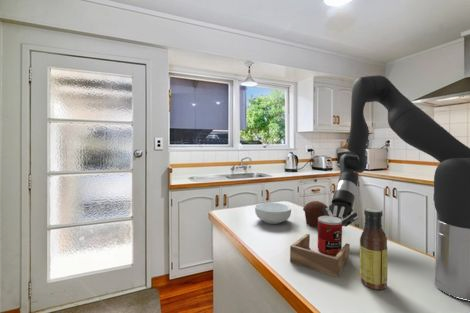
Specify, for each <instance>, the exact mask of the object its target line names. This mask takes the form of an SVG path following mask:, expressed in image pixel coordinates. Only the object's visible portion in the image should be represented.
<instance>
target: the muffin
mask: <svg viewBox="0 0 470 313" xmlns="http://www.w3.org/2000/svg"><path fill="white" fill-rule="evenodd" d="M328 207H329V206H327V205H326V204H325V203H323V202H322V201H310V202H308V203H306V204H305V205H304V206H303V208H302V210H303V211H304V216H305V222H306V223H305V224H306V225H308V226H310V227H314V228H318V218H319V217H320V216H325V214H324V212H323V210H322V208H328ZM329 212H331V211H329Z"/></svg>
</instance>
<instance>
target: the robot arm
mask: <svg viewBox="0 0 470 313" xmlns="http://www.w3.org/2000/svg"><path fill="white" fill-rule="evenodd" d="M350 99H351V100H350V129H349V135H348V140H347V143H346V144H347V145H346V149H347V151H349V152H351V153H352V154H350V153H344V154H341V156H340V158H339V178H338V181H337V184H336V186H335V188H334V192H333V196H332V199H331V202H330V204H329V205H328V206H327V207H328V208H322V210H323V212H324V214H325V216H330V212H331V214H332V215H331V216H333V217H337V218H339V219H341V220H342V227H346V228H347V227H348V226H349V225H351V224H352V223H354V222H355V221H357V220H358V219H359V216H358V213H357V212H355V211H354V209H353V207H354V203H355V198H356V194H357V187H358V183H359V182H358V181H359V175H358V173H359V174H362V173H363V172H365V171H366V170H367V166H368V164H367V157H366V156H367V154H366V152H367V145H368V142H369V136H370V129H369V127H368V123H367V122H366V118H365V115H364V114H365V113H364V109H365V107H366V106H365V105H366V104H367V103H373V102H377V103H379V104H380V105H382V106H383V107H384V108H385V109H386V110H387V123H388V126H389V128H390V130H392V131H393V132H394V133H395V134H396V136H398V138H400V139H401V140H402V141H403V142H404V143H406V144H407V145H410V146H412V147H413V148H415V149H416V150H419V151H421V152H423V153H424V154H427V155H429V156H430V157H432V158H433V159H435V160H436V161H438V162H439V164H438V165H437V167H436V169H435V171H434V175H433V176H434V177H433V178H434V179H433V203H434V204H433V205H434V208H435V210H436V213H437V221H436V222H437V223H436V224H437V225H436V227H437V228H436V245H435V247H436V248H435V266H434V269H435V270H434V285H436V286H437V287H438V288H439V289H440V290H439V289H438V288H437V287H436V286H435V287H436V288H437V289H438V290H439V291H441V290H442V291H443V292H442V291H441V292H442V293H444V292H445V293H444V294H446V293H447V294H450V295H452V296H455V297H459V298H463V299H467V300H470V147H469V146H467V145H466V144H464V143H463V142H461V141H460V140H459V139H457V137H455V136H454V135H452V134H451V133H450V132H449V131H448V130H446V129H445V128H444V127H443V126H441V125H440V124H439V123H438V122H437V121H436V120H434V119H433V117H431V116H430V115H428V114H427V113H426V112H425V111H423V109H421V108H420V107H418V106H417V105H416V104H414V103H413V102H412V101H411V100H410V99H409V98H408V97H406V96H405V95H404V94H403V93H402V92H400V90H399V89H398V88H397V87H396V86H395V85H394V84H393V83H392V82H391V81H390V79H389V78H388V77H386V76H383V75H381V74H380V75H379V74H378V75H368V76H359V77H358V78H356V80H354V83H353V84H352V87H351V96H350ZM329 211H330V212H329ZM447 294H446V295H447ZM450 295H449V296H450ZM452 296H451V297H452Z"/></svg>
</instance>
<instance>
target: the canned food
mask: <svg viewBox="0 0 470 313" xmlns="http://www.w3.org/2000/svg"><path fill="white" fill-rule="evenodd" d="M342 241H343V226H342V220H341V219H339V218H337V217H333V215H329V216H320V217H319V218H318V227H317V249H318V251H319V253H322V254H325V255H329V256H332V257H335V256H336V255H337V254H338V253H339V251H340V250H341V249H342V248H343V247H342V244H343V242H342Z"/></svg>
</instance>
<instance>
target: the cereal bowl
mask: <svg viewBox="0 0 470 313" xmlns="http://www.w3.org/2000/svg"><path fill="white" fill-rule="evenodd" d="M254 210H255V211H254V212H255V216H256V217H257V218H258V219H260V220H261V221H264V223H266V224H268V225H278V224H281V223H283V222H286V221H288V220H289V219H290V217H291V215H292V214H291V213H292V208H291V206H290V205H287V204H283V203H279V202H263V203H258V204H255V207H254Z"/></svg>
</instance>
